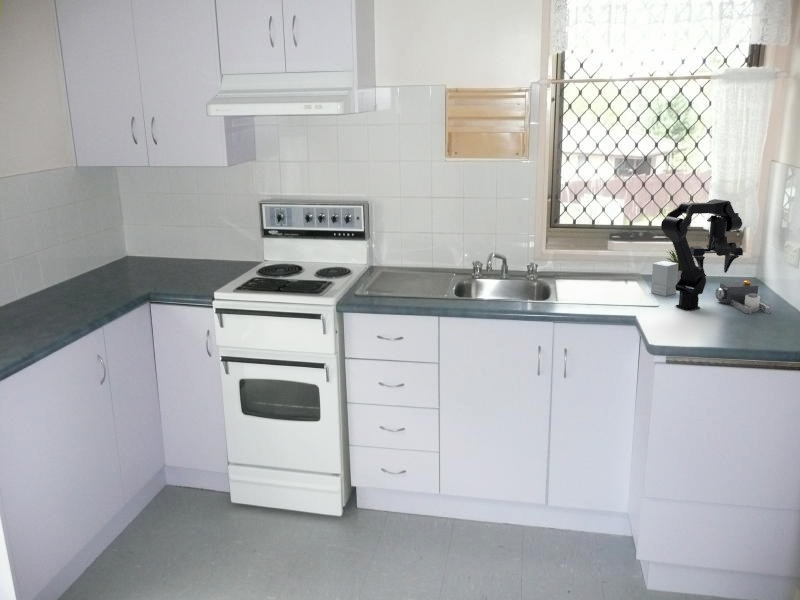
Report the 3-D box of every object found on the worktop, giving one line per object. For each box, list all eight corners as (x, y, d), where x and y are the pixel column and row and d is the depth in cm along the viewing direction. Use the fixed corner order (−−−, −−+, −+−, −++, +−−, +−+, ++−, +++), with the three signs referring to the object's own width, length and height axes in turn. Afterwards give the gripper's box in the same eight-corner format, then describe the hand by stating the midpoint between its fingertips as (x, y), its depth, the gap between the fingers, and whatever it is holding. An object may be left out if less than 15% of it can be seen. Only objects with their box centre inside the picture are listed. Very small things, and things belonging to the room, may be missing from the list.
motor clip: (737, 314, 263) (739, 292, 261) (713, 300, 281) (715, 280, 279) (774, 312, 264) (777, 291, 261) (748, 298, 282) (750, 278, 279)
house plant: (677, 289, 297) (680, 251, 292) (652, 282, 308) (654, 245, 304) (701, 285, 303) (705, 247, 298) (675, 278, 315) (678, 241, 310)
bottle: (741, 309, 269) (742, 293, 268) (750, 307, 271) (752, 291, 270) (752, 312, 265) (754, 296, 263) (761, 310, 267) (763, 294, 265)
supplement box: (676, 293, 292) (679, 263, 288) (665, 296, 288) (667, 266, 284) (661, 289, 298) (663, 260, 294) (650, 292, 294) (652, 262, 290)
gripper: (701, 237, 263) (697, 278, 268) (752, 236, 263) (747, 277, 268) (689, 231, 274) (686, 271, 278) (738, 231, 274) (734, 270, 278)
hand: (713, 272), depth 275 cm, fingers open, 9 cm apart
